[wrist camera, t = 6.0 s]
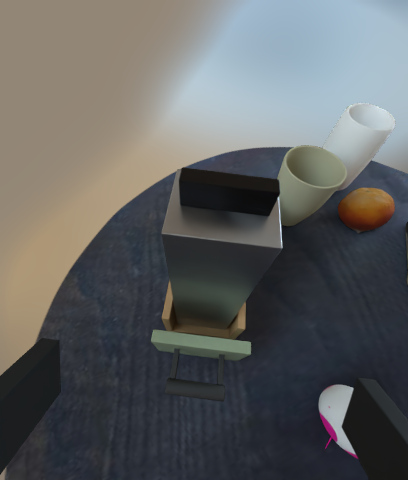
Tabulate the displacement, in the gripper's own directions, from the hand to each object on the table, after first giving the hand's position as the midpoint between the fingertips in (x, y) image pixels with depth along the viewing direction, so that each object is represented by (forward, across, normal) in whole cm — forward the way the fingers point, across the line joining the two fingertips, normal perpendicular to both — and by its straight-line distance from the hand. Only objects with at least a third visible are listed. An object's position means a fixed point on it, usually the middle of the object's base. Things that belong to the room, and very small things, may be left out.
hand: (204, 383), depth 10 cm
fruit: (+37, +27, +5) cm, 46 cm away
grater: (+21, 0, -8) cm, 22 cm away
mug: (+37, +14, +5) cm, 40 cm away
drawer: (+20, 0, -10) cm, 23 cm away
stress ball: (+14, +18, -17) cm, 29 cm away
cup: (+44, +23, +12) cm, 51 cm away
